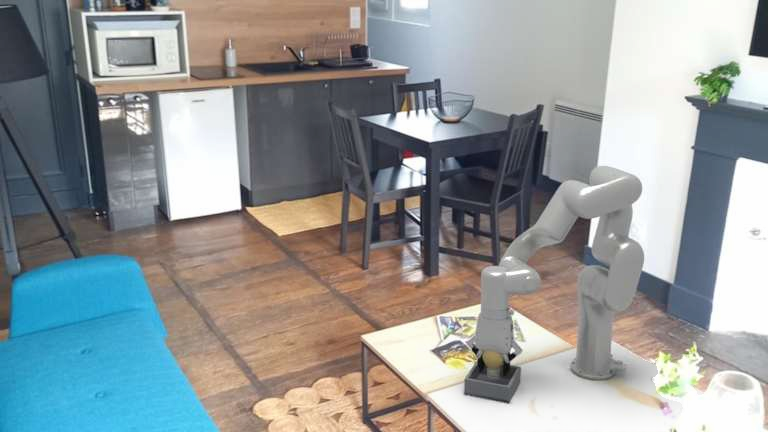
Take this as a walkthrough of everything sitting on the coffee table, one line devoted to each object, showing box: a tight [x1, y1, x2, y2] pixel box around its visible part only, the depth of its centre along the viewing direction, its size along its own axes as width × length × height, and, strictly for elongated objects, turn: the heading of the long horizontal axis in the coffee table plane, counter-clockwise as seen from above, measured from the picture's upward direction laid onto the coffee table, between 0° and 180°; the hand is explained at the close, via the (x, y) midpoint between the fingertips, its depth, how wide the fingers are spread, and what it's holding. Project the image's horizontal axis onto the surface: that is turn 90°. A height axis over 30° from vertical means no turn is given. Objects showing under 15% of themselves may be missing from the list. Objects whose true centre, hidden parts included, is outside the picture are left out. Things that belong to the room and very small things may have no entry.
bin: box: [463, 359, 522, 404], centre depth 201 cm, size 13×13×5 cm
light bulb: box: [482, 350, 505, 380], centre depth 200 cm, size 6×6×10 cm
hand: (493, 371), depth 200 cm, fingers closed on light bulb, 6 cm apart
